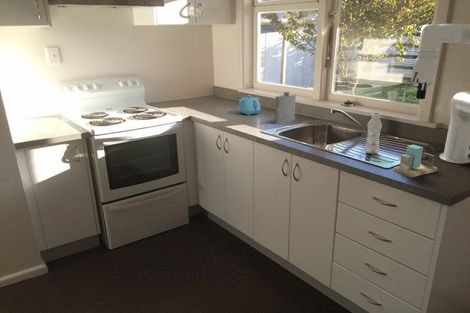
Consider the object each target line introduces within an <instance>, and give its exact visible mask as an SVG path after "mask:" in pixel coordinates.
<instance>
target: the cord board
mask: <svg viewBox="0 0 470 313" xmlns="http://www.w3.org/2000/svg"><path fill="white" fill-rule="evenodd" d="M412 157H413V156H410V155H407V154H406V153H404V154H401V155H400V160H399V165H398V166H394V167H393V170H392V171H393V172H396V173H399V174H401V175H403V176H406V177H409V178H415V177H418V176H422V175H426V174H427V175H429V174H430V173H431V174H432V173H436V172H438V167H436V166H434V165H435V164H434V163H435V157H436V155H434V154H431V153H427V152H422V158H421V163H420V167H417V168H411V163H412Z"/></svg>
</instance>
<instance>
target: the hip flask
mask: <svg viewBox="0 0 470 313" xmlns="http://www.w3.org/2000/svg"><path fill="white" fill-rule="evenodd" d="M296 95H297V94H295V93H294V94H293V93H292V94H290V91H283V94H282V95H276V96H275V107H274V108H275V111H274V113H275V114H274V116H275V117H274V118H275V119H274V123H275V124H285V123H286V124H287V123H290V122H291V123H292V122H294V121H295V118H296V116H295V115H296Z"/></svg>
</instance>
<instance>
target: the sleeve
mask: <svg viewBox="0 0 470 313" xmlns="http://www.w3.org/2000/svg"><path fill="white" fill-rule="evenodd" d="M423 149H424V147H423V146H420V145H417V144H410V145H407V146H406V151H405V154H407V155H410V156H413V157H412V163H411V168H417V167H420V163H421V158H422V153H424V152H423Z"/></svg>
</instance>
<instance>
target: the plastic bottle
mask: <svg viewBox="0 0 470 313" xmlns="http://www.w3.org/2000/svg"><path fill="white" fill-rule="evenodd" d="M380 118H381V113H380V112H372V113H371V119H370V120H369V121H368V122H367V138H366V143H365V145H364V150H365V153H366V154H369V155H376V154H378V153H379V151H380V135H381V131H382V127H383V124H382V121H381V119H380Z"/></svg>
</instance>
